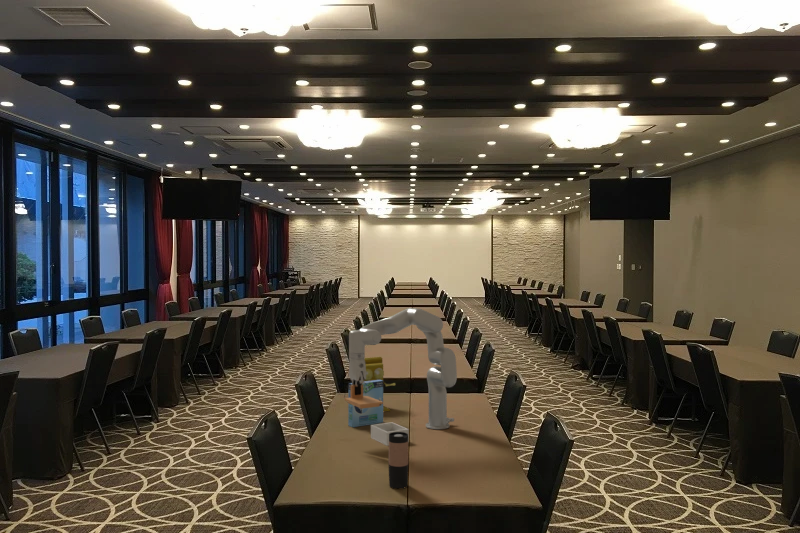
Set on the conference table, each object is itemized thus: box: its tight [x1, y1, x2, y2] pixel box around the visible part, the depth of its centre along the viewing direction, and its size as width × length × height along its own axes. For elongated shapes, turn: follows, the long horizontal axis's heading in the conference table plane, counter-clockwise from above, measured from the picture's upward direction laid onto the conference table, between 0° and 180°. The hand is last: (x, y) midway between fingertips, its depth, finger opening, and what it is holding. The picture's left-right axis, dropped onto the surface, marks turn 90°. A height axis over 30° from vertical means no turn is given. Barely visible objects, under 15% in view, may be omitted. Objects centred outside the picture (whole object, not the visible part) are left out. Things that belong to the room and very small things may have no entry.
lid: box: [344, 384, 384, 409], centre depth 307 cm, size 12×16×8 cm
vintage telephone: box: [343, 356, 396, 412], centre depth 381 cm, size 31×14×30 cm, turn 119°
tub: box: [370, 421, 410, 447], centre depth 314 cm, size 12×16×7 cm
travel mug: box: [388, 432, 409, 489], centre depth 252 cm, size 8×8×20 cm
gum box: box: [347, 379, 384, 428], centre depth 348 cm, size 20×5×23 cm, turn 123°
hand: (356, 394), depth 313 cm, fingers closed on lid, 1 cm apart
